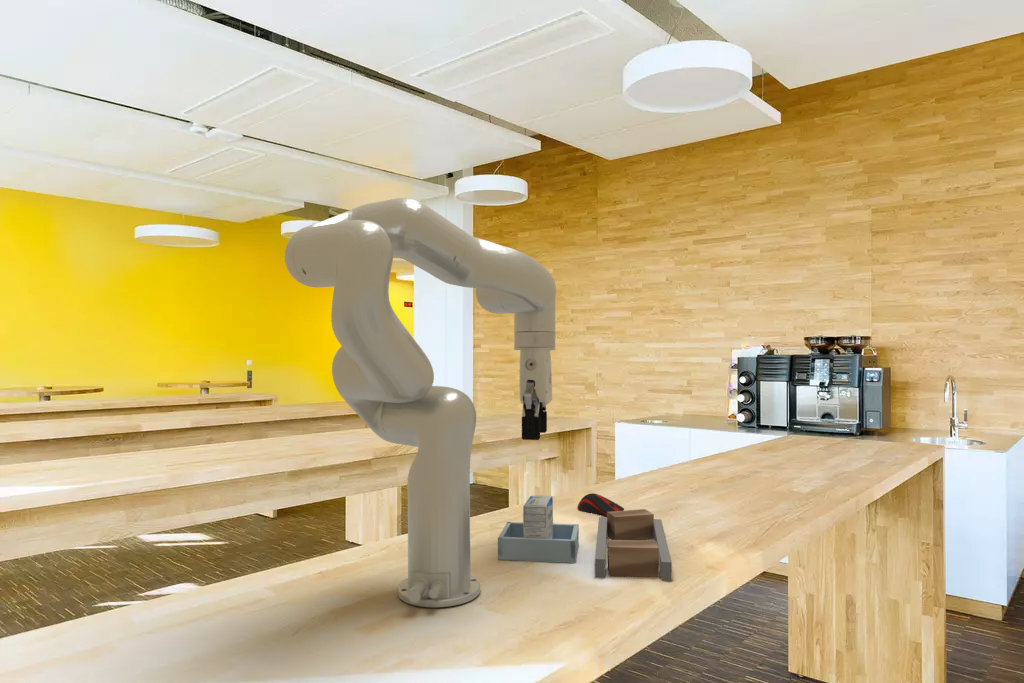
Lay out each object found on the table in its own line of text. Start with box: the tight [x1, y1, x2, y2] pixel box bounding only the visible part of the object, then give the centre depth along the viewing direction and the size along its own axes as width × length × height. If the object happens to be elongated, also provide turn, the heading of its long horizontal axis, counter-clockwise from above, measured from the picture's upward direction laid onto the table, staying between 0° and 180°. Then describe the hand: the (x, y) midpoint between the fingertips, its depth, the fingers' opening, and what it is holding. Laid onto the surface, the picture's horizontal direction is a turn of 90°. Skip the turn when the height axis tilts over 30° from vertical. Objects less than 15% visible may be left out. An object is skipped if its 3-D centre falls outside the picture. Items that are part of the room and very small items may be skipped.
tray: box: [497, 521, 580, 564], centre depth 125 cm, size 11×14×4 cm
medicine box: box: [522, 494, 554, 539], centre depth 125 cm, size 8×4×9 cm, turn 170°
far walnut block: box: [607, 508, 655, 541], centre depth 133 cm, size 4×8×5 cm, turn 104°
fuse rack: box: [594, 516, 673, 582], centre depth 124 cm, size 26×12×3 cm, turn 171°
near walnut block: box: [606, 539, 660, 579], centre depth 114 cm, size 4×8×5 cm, turn 86°
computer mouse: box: [577, 493, 625, 517], centre depth 154 cm, size 6×11×4 cm, turn 42°
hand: (534, 435), depth 126 cm, fingers open, 9 cm apart
